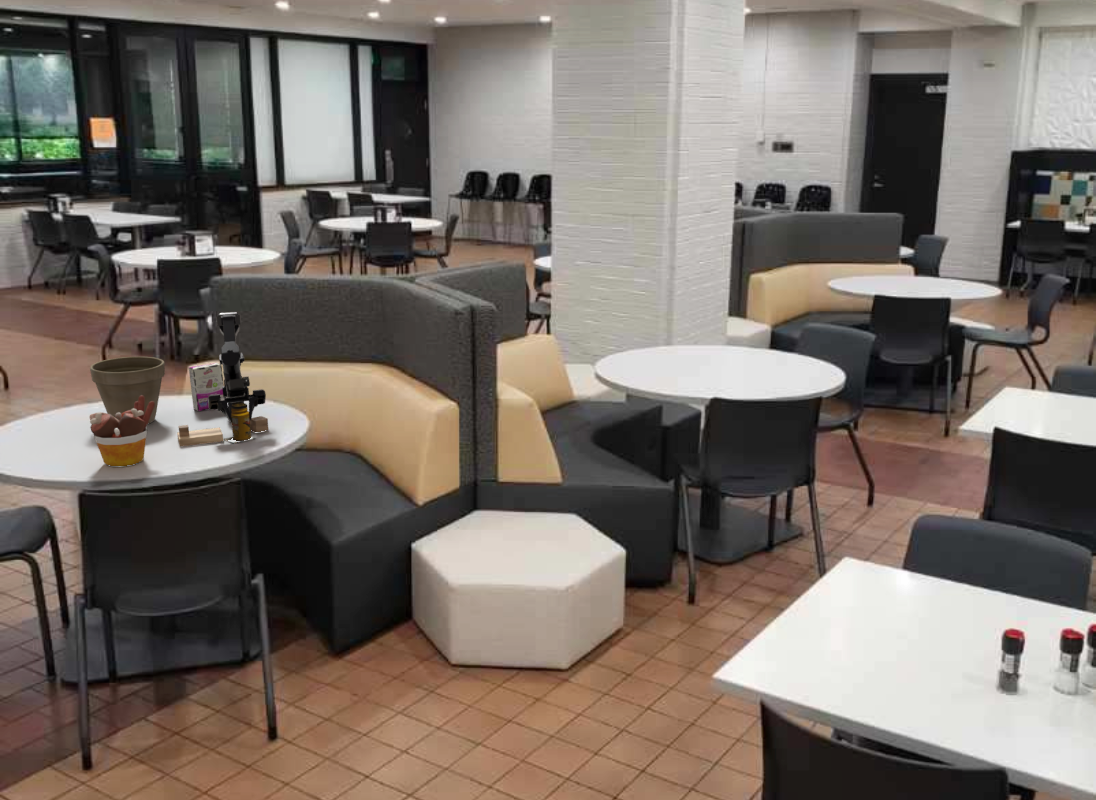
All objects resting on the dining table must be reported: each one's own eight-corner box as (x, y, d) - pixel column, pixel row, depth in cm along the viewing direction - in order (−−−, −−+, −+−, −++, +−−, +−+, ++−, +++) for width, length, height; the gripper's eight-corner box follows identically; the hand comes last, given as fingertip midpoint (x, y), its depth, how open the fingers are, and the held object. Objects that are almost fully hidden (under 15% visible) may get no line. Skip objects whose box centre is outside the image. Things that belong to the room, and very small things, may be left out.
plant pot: (182, 422, 389) (175, 363, 384) (113, 436, 373) (105, 374, 368) (153, 409, 407) (147, 352, 402) (86, 422, 391) (79, 363, 386)
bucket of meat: (112, 474, 332) (105, 412, 327) (82, 465, 342) (74, 404, 337) (168, 457, 348) (162, 398, 343) (138, 449, 357) (131, 391, 352)
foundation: (177, 439, 368) (176, 423, 366) (220, 434, 373) (219, 419, 372) (179, 446, 360) (178, 430, 358) (223, 441, 365) (221, 425, 363)
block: (250, 430, 377) (249, 418, 376) (262, 428, 380) (261, 416, 379) (256, 433, 374) (255, 421, 373) (268, 430, 377) (267, 418, 375)
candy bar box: (220, 404, 413) (216, 362, 409) (226, 406, 409) (222, 364, 405) (192, 409, 406) (187, 366, 402) (197, 411, 403) (193, 368, 398)
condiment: (256, 438, 367) (253, 404, 364) (233, 444, 361) (229, 409, 358) (246, 434, 372) (242, 400, 369) (223, 439, 367) (219, 405, 363)
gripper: (205, 372, 362) (212, 411, 355) (262, 366, 368) (270, 404, 361) (205, 389, 371) (212, 428, 364) (261, 383, 377) (268, 421, 370)
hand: (240, 420), depth 364 cm, fingers closed on condiment, 6 cm apart
